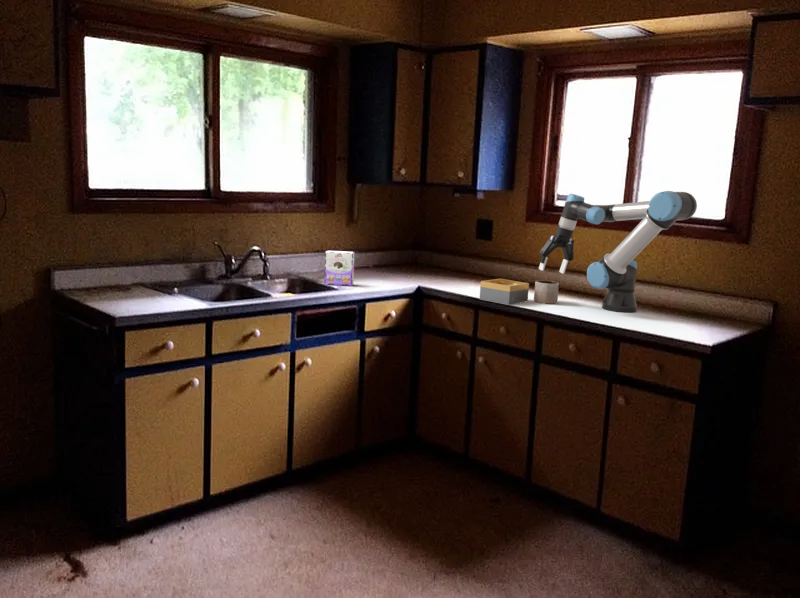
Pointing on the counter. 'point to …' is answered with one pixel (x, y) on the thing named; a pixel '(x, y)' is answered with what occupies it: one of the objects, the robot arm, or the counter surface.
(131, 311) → the counter surface
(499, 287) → the square cup holder
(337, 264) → the candy box
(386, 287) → the counter surface
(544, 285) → the planter
